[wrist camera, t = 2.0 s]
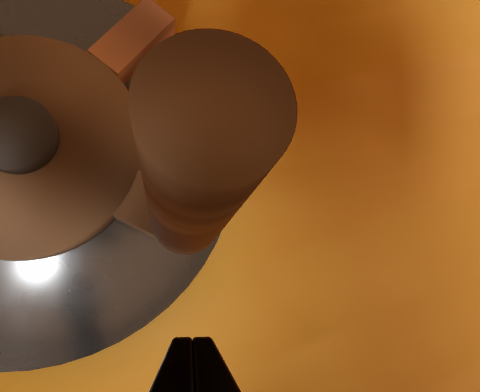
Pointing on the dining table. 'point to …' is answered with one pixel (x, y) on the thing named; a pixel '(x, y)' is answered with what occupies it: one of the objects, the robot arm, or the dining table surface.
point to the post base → (89, 254)
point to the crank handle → (135, 134)
